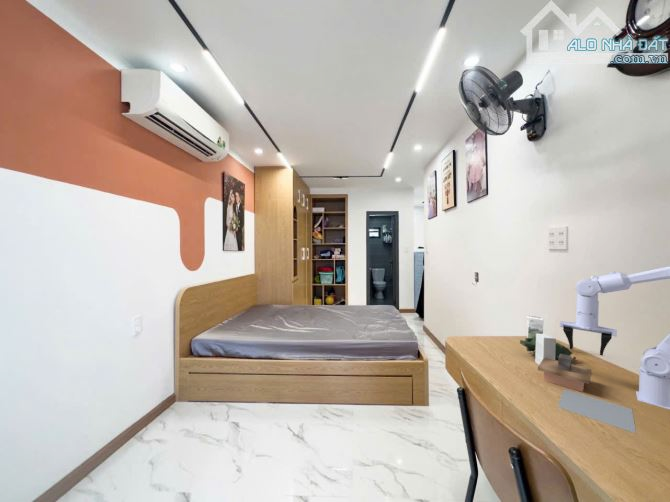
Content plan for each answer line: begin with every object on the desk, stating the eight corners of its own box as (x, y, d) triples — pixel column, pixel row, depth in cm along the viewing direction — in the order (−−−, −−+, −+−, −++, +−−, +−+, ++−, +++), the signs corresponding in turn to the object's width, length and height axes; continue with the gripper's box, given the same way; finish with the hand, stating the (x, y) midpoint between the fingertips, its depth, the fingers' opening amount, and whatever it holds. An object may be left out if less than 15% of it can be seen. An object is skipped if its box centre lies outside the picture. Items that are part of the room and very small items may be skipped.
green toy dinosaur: (564, 379, 106) (586, 359, 105) (523, 345, 112) (543, 325, 111) (551, 371, 117) (570, 352, 116) (514, 340, 123) (532, 322, 122)
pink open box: (584, 382, 93) (585, 371, 93) (582, 392, 86) (583, 380, 86) (548, 372, 100) (548, 362, 100) (543, 381, 93) (544, 370, 93)
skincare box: (555, 369, 103) (556, 338, 103) (542, 368, 104) (543, 337, 104) (546, 363, 109) (547, 334, 109) (534, 362, 110) (535, 333, 110)
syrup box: (541, 346, 129) (541, 316, 129) (542, 350, 124) (543, 319, 124) (526, 344, 132) (527, 314, 132) (527, 347, 127) (528, 317, 127)
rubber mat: (632, 410, 77) (632, 409, 77) (635, 434, 66) (635, 433, 66) (563, 390, 88) (563, 388, 88) (557, 408, 77) (557, 406, 77)
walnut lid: (591, 371, 93) (591, 357, 93) (589, 384, 84) (589, 368, 84) (544, 360, 102) (544, 347, 102) (537, 370, 93) (538, 355, 93)
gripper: (558, 310, 97) (557, 348, 97) (617, 318, 86) (616, 360, 86) (561, 308, 102) (560, 344, 102) (616, 315, 91) (615, 355, 91)
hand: (585, 351), depth 94 cm, fingers open, 7 cm apart
